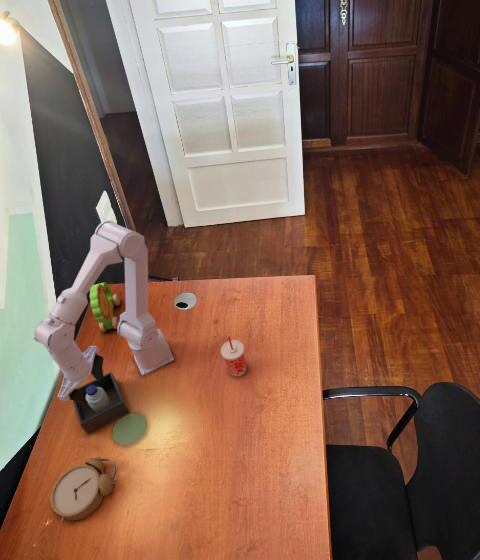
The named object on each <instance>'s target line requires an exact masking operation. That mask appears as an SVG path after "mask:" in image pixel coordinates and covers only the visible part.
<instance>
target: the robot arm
mask: <svg viewBox="0 0 480 560" xmlns="http://www.w3.org/2000/svg"><path fill="white" fill-rule="evenodd" d="M122 257H123V258H124V260H123V258H122ZM122 262H124V289H125V290H124V291H125V311H124V312H122V313H121V314H120V315H119V325H118V328H117V329H116V330H117V331H116V332H117V334H118V336H119V337H120V338H124V339H125V340H126V342H127V344H128V347H129V349H130V351H131V352H132V354H133V358H134V360H135V363H136V366H137V367H138V370H139V372H140V374H141V376H146V375H148V374H149V373H151V372H153V371H155V370H157V369H159V368H161V367H162V366H165V365H167V364H169V363H171V362H173V361H174V360H175V357H174V356H173V354H172V351H171V347H170V345H169V343H168V342H167V340H166V338H165V335H164V334H163V331H162V330H161V329H160V328H158V327H157V321H156V319H154V317H153V316H152V315H151V313H150V312H149V250H148V247H147V244H146V241H145V236H144V235H142V234H140V233H139V232H137V231H135V230H132V229H130V228H127V227H124V226H122V225H119V224H117V223H116V222H114V221H111V220H104V221H102V222H101V223H99V224H98V225H97V226H96V228H95V231H94V233H93V234H92V236H91V237H90V249H89V252H88V254H87V256H86V257H85V259H84V262H83V264H82V266H81V268H80V270H79V271H78V274H77V275H76V278H75V280H74V281H73V284H72V286H71V287H69V288H66V289H64V290H62V292H61V293H60V294H59V296H58V297H57V298H56V302H55V303H54V305H53V307H52V309H51V310H50V312H49V314H48V315H47V316H46V318H45V319H43V320H41V321H39V322H38V323H37V324H36V326H35V328H34V337H33V339H34V341H36V342H37V343H40V344H41V345H43V346H44V347H45V349H46V350H47V352H48V353H49V356H50V357H51V358H52V359H53V361H54V362H55V365H57V366H58V368H59V369H60V370H61V372H62V373H63V377H62V382H61V386H60V389H59V390H58V393H57V395H56V396H57V397H58V399H59V400H60V401H63V402H69V401H70V400H71V401H72V402H73V401H75V402H76V403H78V404H79V405H82V406H88V402H87V400H86V399H85V397H84V391H80V390H77V388H78V387H79V386H80V385H81V384H82V383H83V382H84V381H85V380H86V379H87V378H88V377H89V376H90V375H92V377H93V378H94V380H95V379H99V380H103V379H104V376H103V375H104V370H103V366H104V365H103V364H104V360H105V359H104V357H103V356H102V355H98V354H99V353H100V350H99V348H98V346H97V345H89V346H88V347H87V349H86V350H84V351H83V352H82V350H81V349H80V347H79V345H78V344H77V343H76V341H75V330H76V324H77V322H78V320H79V319H80V317H81V316H82V313H83V312H84V311H85V309H86V308H87V305H88V303H89V300H88V298H87V297H88V296H87V294H88V293H89V292H90V289H91V287H92V286H93V285H95V283H96V281H98V279H99V277H100V275H101V274H102V273H103V271H104V270H105V268H106V267H107V266H109V265H114V264H119V263H122Z"/></svg>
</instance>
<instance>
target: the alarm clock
mask: <svg viewBox="0 0 480 560" xmlns="http://www.w3.org/2000/svg"><path fill="white" fill-rule="evenodd" d="M103 462H110V463H111V464H112V466H113V472H112V476H110V475H109V474H107V473H105V472H104V470H105V465H104V463H103ZM95 468H97V469H98V470H100V471H98V470H96V469H95ZM117 471H118V470H117V466H116V464H115V462H114V461H112V459H110V458H104V457H103V458H101V457H100V456H98V457H89V458H87V459H86V460H85V461H84V464H78V465H75V466H71V467H70V468H69V469H67V470H65V471H64V472H63V473H62V474H61V475H60V476H59V477H58V478H57V480H56V481H55V483H54V485H53V487H52V489H51V492H50V495H49V496H48V498H49V501H50V505H51V508H52V510H53V512H54V513H55V514H57V515H59V516H61V519H60V524H62V523H64V521H65V520H67V521H79V520H82V519H85V518H87V516H89V515H91V514H92V513H93V512H94V511H95V510H96V509H97V508H98V507H99V505H100V503H101V502H102V501H103V498H104V497H107V496H108V495H110V493H111V492H112V491H113V489H114V485H115V482H114V480H115V478H116V476H117Z"/></svg>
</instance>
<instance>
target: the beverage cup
mask: <svg viewBox="0 0 480 560" xmlns="http://www.w3.org/2000/svg"><path fill="white" fill-rule="evenodd" d="M227 339H228V341H226V342H224V344H222V346H221V348H220V355H221V357H222V358H223V359H224V361H225V364H226V366H227V369H228V371H229V373H230V375H231V376H233V377H241V376H243V375H245V373H246V371H247V365H246V364H247V363H246V357H245V345H244V344H243V343H242V342H241V341H239V340H237V339H232V340H231V336H228V337H227Z"/></svg>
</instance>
